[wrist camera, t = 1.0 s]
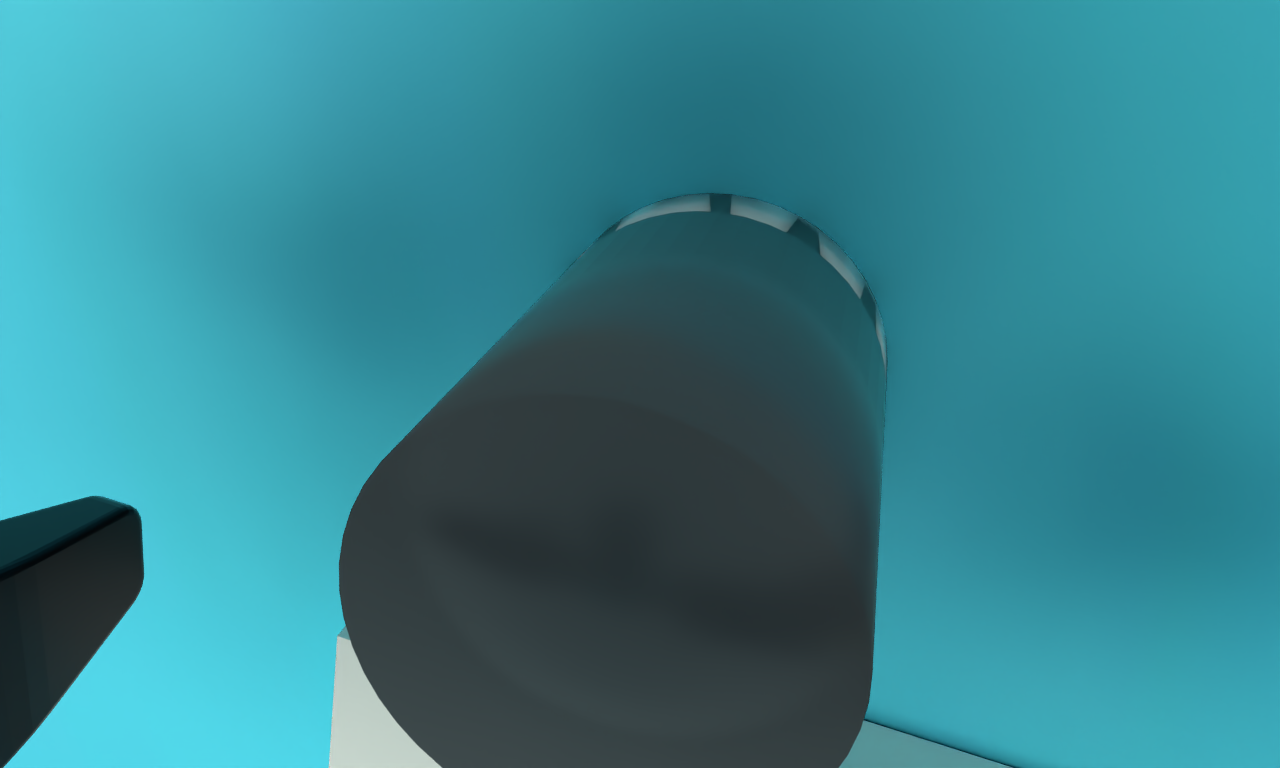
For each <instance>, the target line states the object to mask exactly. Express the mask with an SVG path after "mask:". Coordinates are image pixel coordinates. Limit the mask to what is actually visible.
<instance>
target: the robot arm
mask: <svg viewBox="0 0 1280 768" xmlns="http://www.w3.org/2000/svg"><path fill="white" fill-rule="evenodd" d="M143 579H144V562H143V542H142V522H141V517H140V515H139V513H138V511H137V510H136V509H135V508H133V507H132V506H130V505H127V504H124V503H121V502H118V501H115V500H112V499H109V498H105V497H101V496H90V497H86V498H82V499H78V500H75V501H71V502H67V503H64V504H60V505H56V506H53V507H49V508H45V509H42V510H38V511H34V512H30V513H27V514H23V515H19V516H16V517H12V518H8V519H5V520H1V521H0V768H3V767H4V766H5V765H6V764H7V763H8V762H9V761H10V760H11V758H12V757H13V756H14V755H15V754H16V753H17V752H18V751H19V749H20V748H21V747H22V746H23V745H24V744H25V743H26V742H27V740H28V739H29V738H30V737H31V736H32V735H33V734H34V732H35V731H36V730H37V729H38V727H39V726H40V725H41V724H42V722H43V721H44V720H45V719H46V718H47V716H48V715H49V714H50V713H51V711H52V710H53V709H54V707H55V706H56V705H57V703H58V702H59V701H60V699H61V698H62V697H63V695H64V694H65V693H66V692H67V690H68V689H69V688H70V686H71V685H72V684H73V682H74V681H75V680H76V678H77V677H78V676H79V674H80V673H81V672H82V670H83V669H84V668H85V666H86V665H87V664H88V662H89V661H90V660H91V659H92V657H93V656H94V655H95V653H96V652H97V651H98V649H99V648H100V647H101V645H102V644H103V643H104V641H105V640H106V639H107V637H108V636H109V635H110V633H111V632H112V631H113V629H114V628H115V627H116V625H117V624H118V623H119V622H120V620H121V619H122V618H123V616H124V615H125V614H126V612H127V611H128V610H129V608H130V607H131V606H132V604H133V603H134V601H135V600H136V598H137V596H138V594H139V592H140V590H141V587H142V584H143Z"/></svg>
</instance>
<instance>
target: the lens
mask: <svg viewBox="0 0 1280 768" xmlns="http://www.w3.org/2000/svg"><path fill="white" fill-rule="evenodd" d="M886 382H887V342H886V336H885V331H884V326H883V321H882V318H881V315H880V312H879V309H878V306H877V303H876V300H875V298H874V296H873V294H872V292H871V290H870V288H869V286H868V284H867V282H866V280H865V279H864V277H863V276H862V274H861V273H860V271H859V270H858V268H857V267H856V266H855V264H854V263H853V261H852V260H851V259H850V258H849V257H848V256H847V255H846V253H845V252H844V251H843V250H842V249H841V248H840V247H839V246H838V245H837V244H836V243H835V242H834V241H833V240H832V239H830V238H829V237H828V236H827V235H826V234H824V233H823V232H822V231H821V230H820V229H818V228H817V227H815V226H814V225H812V224H811V223H809V222H807V221H806V220H804V219H803V218H801V217H800V216H798V215H796V214H793V213H791V212H789V211H787V210H785V209H783V208H781V207H779V206H776V205H773V204H770V203H767V202H764V201H761V200H757V199H754V198H748V197H743V196H738V195H732V194H714V193H705V194H692V195H684V196H679V197H674V198H670V199H665V200H662V201H659V202H656V203H653V204H651V205H648V206H645V207H643V208H641V209H639V210H637V211H635V212H633V213H631V214H629V215H627V216H626V217H624V218H622V219H621V220H620V221H618V222H617V223H615V224H614V225H613V226H611V227H610V228H609V229H607V230H606V231H605V232H604V233H603V234H602V235H601V236H600V237H599V238H598V239H597V240H596V241H595V242H594V243H593V244H592V245H591V246H590V247H589V248H588V249H587V250H586V251H585V252H584V253H583V254H582V255H581V256H580V257H579V258H578V259H577V260H576V261H575V262H574V263H573V264H572V265H571V266H570V267H569V268H568V269H567V270H566V271H565V272H564V274H563V275H562V276H561V277H560V278H559V279H558V280H557V281H556V282H555V283H554V284H553V285H552V286H551V287H550V288H549V289H548V290H547V291H546V292H545V293H544V294H543V295H542V296H541V297H540V298H539V299H538V300H537V301H536V302H535V303H534V304H533V305H532V307H531V308H530V309H529V310H528V311H527V312H526V313H525V314H524V315H523V316H522V317H521V318H520V319H519V320H518V321H517V322H516V323H515V324H514V325H513V326H512V327H511V328H510V329H509V330H508V331H507V332H506V333H505V334H504V335H503V336H502V337H501V339H500V340H499V341H498V342H497V343H496V344H495V345H494V346H493V347H492V348H491V349H490V350H489V351H488V352H487V353H486V354H485V355H484V356H483V357H482V358H481V359H480V360H479V361H478V362H477V363H476V364H475V365H474V366H473V367H472V368H471V369H470V370H469V372H468V373H467V374H466V375H465V376H464V377H463V378H462V379H461V380H460V381H459V382H458V383H457V384H456V385H455V386H454V387H453V388H452V389H451V390H450V391H449V392H448V393H447V394H446V395H445V396H444V397H443V398H442V399H441V400H440V401H439V402H438V403H437V405H436V406H435V407H434V408H433V409H432V410H431V411H430V412H429V413H428V414H427V415H426V416H425V417H424V418H423V419H422V420H421V421H420V422H419V423H418V424H417V425H416V426H415V427H414V428H413V429H412V430H411V431H410V432H409V433H408V434H407V435H406V436H405V438H404V439H403V440H402V441H401V442H400V443H399V444H398V445H397V446H396V447H395V448H394V449H393V450H392V451H391V452H390V453H389V454H388V455H387V456H386V457H385V458H384V459H383V460H382V461H381V462H380V464H379V465H378V466H377V468H376V469H375V470H374V472H373V473H372V474H371V476H370V477H369V478H368V480H367V481H366V482H365V484H364V485H363V487H362V489H361V491H360V493H359V495H358V497H357V499H356V501H355V503H354V505H353V507H352V509H351V512H350V515H349V518H348V521H347V525H346V528H345V531H344V534H343V539H342V546H341V553H340V560H339V591H340V597H341V604H342V610H343V616H344V621H345V624H346V627H347V631H348V634H349V637H350V641H351V644H352V647H353V649H354V652H355V654H356V656H357V658H358V661H359V663H360V665H361V667H362V670H363V672H364V674H365V676H366V677H367V679H368V681H369V682H370V684H371V686H372V688H373V689H374V691H375V693H376V694H377V696H378V698H379V699H380V701H381V702H382V703H383V705H384V706H385V707H386V709H387V710H388V711H389V713H390V714H391V716H392V717H393V718H394V720H395V721H396V722H397V723H398V725H399V726H400V727H401V728H402V729H403V730H404V731H405V732H406V733H407V734H408V736H409V737H410V738H411V739H412V740H413V741H414V742H415V743H416V744H417V745H418V746H419V747H420V748H421V749H422V750H423V751H424V752H425V753H426V754H427V755H429V756H430V757H431V758H432V759H433V760H434V761H435V762H436V763H437V764H438V765H440V766H441V767H442V768H839V767H840V765H841V764H842V762H843V761H844V760H845V758H846V757H847V756H848V754H849V752H850V750H851V748H852V746H853V744H854V742H855V740H856V738H857V736H858V734H859V732H860V730H861V727H862V723H863V720H864V717H865V713H866V710H867V707H868V703H869V697H870V688H871V680H872V670H873V650H874V629H875V608H876V588H877V567H878V547H879V526H880V505H881V485H882V464H883V444H884V423H885V402H886Z"/></svg>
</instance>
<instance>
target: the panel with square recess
mask: <svg viewBox="0 0 1280 768" xmlns="http://www.w3.org/2000/svg"><path fill="white" fill-rule="evenodd" d="M329 768H442V767H441V766H440V765H438V764H437V763H436V762H435V761H434V760H433V759H432V758H431V757H430V756H429V755H427V754H426V753H425V752H424V751H423V750H422V749H421V748H420V747H419V746H418V745H417V744H416V743H415V742H414V741H413V740H412V739H411V738H410V737H409V736H408V734H407V733H406V732H405V731H404V730H403V729H402V728H401V727H400V726H399V725H398V723H397V722H396V721H395V720H394V718H393V717H392V716H391V714H390V713H389V711H388V710H387V709H386V707H385V706H384V705H383V703H382V702H381V701H380V699H379V698H378V696H377V694H376V693H375V691H374V689H373V688H372V686H371V684H370V682H369V681H368V679H367V677H366V676H365V674H364V672H363V670H362V667H361V665H360V663H359V661H358V658H357V656H356V654H355V652H354V649H353V647H352V644H351V641H350V637H349V634H348V631H347V627H346V626H345V627H344V628H343V630H342V631H341V632H340V633H339V635H338V636H337V650H336V666H335V681H334V697H333V712H332V728H331V743H330V759H329ZM839 768H1012V767H1009V766H1006V765H1003V764H1000V763H996V762H993V761H990V760H987V759H984V758H981V757H978V756H974V755H971V754H968V753H965V752H962V751H959V750H956V749H952V748H949V747H946V746H943V745H940V744H937V743H934V742H931V741H927V740H924V739H921V738H918V737H915V736H912V735H909V734H905V733H902V732H899V731H896V730H893V729H890V728H887V727H883V726H880V725H877V724H874V723H871V722H868V721H865V720H863V723H862V727H861V730H860V732H859V734H858V736H857V738H856V740H855V742H854V744H853V746H852V748H851V750H850V752H849V754H848V756H847V757H846V758H845V760H844V761H843V762H842V764H841V765H840V767H839Z"/></svg>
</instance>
